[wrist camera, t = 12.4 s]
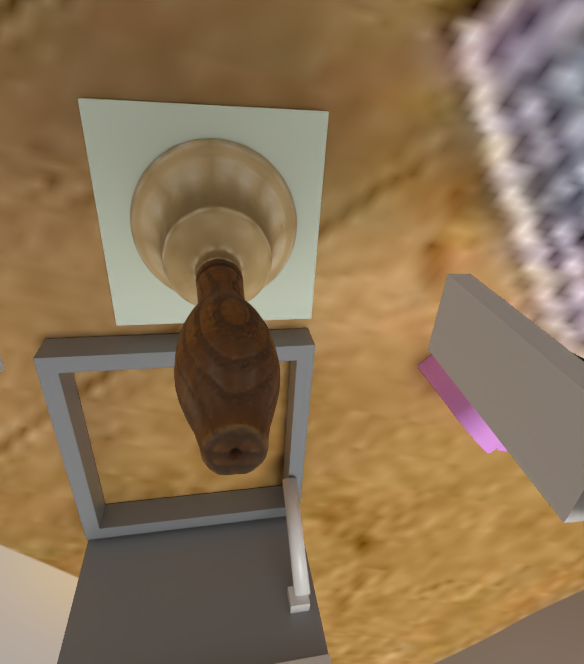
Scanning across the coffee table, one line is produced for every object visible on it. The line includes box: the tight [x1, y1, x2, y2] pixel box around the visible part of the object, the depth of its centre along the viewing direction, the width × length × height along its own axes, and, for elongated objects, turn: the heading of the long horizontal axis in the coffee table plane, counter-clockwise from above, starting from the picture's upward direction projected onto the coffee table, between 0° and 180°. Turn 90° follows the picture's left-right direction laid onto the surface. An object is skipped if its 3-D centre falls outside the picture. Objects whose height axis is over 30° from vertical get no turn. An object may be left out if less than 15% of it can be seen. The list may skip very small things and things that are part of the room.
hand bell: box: [130, 138, 297, 475], centre depth 15 cm, size 8×8×16 cm
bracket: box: [418, 355, 507, 454], centre depth 29 cm, size 13×6×7 cm, turn 42°
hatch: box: [33, 328, 331, 664], centre depth 24 cm, size 16×15×12 cm
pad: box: [78, 98, 329, 326], centre depth 22 cm, size 11×11×1 cm
